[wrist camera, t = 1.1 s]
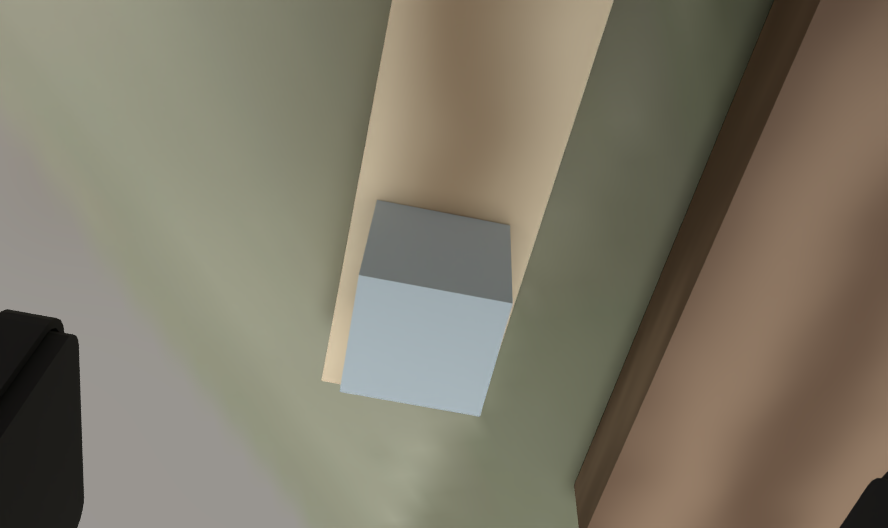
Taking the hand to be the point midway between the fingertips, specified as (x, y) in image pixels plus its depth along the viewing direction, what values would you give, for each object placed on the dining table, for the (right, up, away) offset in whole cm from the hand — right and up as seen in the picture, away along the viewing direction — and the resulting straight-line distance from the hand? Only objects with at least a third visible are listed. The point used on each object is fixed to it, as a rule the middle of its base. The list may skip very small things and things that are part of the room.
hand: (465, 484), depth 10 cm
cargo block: (-1, +2, +16) cm, 16 cm away
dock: (+13, +1, +20) cm, 24 cm away
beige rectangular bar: (0, +8, +17) cm, 19 cm away
